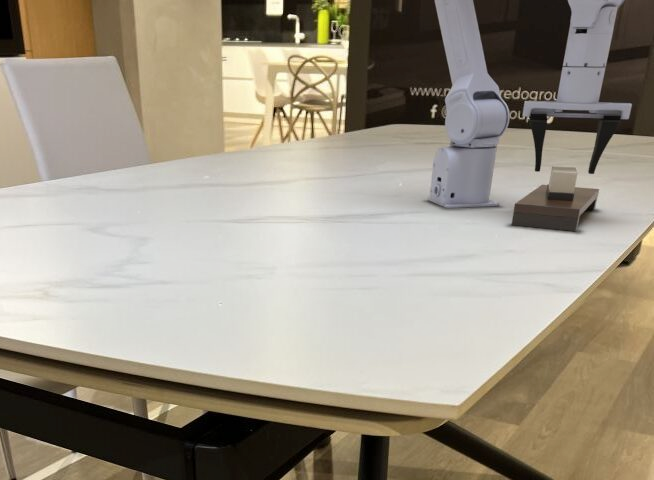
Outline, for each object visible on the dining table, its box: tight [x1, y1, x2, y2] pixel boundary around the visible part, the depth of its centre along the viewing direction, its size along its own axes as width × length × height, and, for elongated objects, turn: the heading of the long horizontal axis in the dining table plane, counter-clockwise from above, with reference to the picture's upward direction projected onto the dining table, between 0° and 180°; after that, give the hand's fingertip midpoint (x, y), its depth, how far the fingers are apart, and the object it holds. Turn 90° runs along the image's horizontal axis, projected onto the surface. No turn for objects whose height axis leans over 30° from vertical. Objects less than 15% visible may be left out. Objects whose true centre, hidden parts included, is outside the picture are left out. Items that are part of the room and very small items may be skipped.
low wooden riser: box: [511, 184, 600, 232], centre depth 114 cm, size 20×9×3 cm, turn 152°
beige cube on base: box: [546, 166, 578, 201], centre depth 112 cm, size 8×4×4 cm, turn 164°
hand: (563, 171), depth 111 cm, fingers open, 7 cm apart
